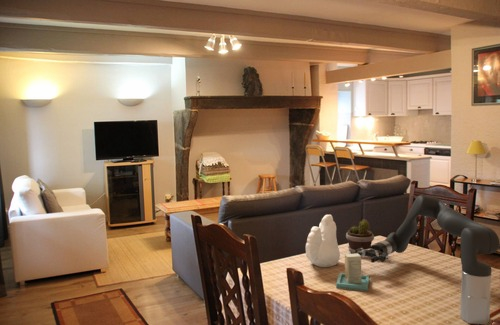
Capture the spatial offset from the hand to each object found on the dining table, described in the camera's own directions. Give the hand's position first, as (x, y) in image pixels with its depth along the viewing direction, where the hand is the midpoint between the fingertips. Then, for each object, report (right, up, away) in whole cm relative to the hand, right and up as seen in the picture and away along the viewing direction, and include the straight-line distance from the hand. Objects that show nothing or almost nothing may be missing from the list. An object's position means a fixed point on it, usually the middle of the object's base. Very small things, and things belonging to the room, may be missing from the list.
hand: (363, 258), depth 189 cm
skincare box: (-6, -9, -5) cm, 12 cm away
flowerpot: (+8, -6, +37) cm, 39 cm away
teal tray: (-6, -10, -5) cm, 13 cm away
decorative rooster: (-17, -8, +18) cm, 26 cm away
